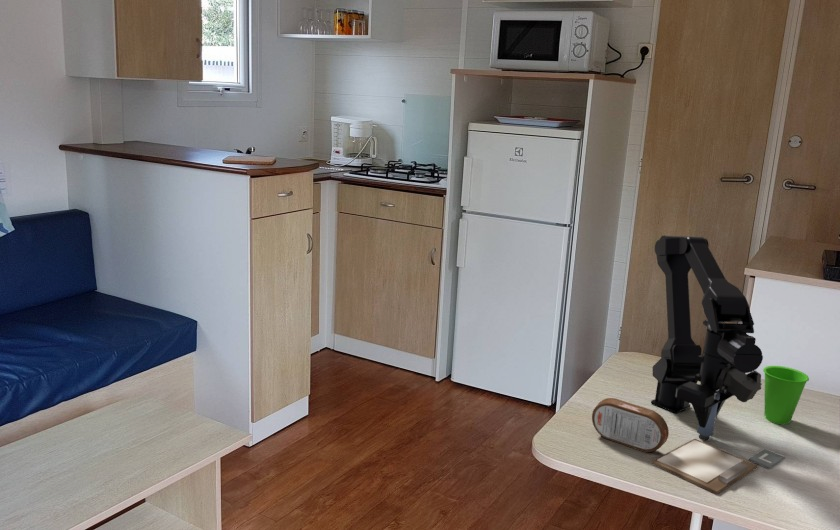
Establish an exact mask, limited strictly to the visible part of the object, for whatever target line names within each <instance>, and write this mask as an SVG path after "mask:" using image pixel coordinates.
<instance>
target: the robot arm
mask: <svg viewBox="0 0 840 530" xmlns="http://www.w3.org/2000/svg"><path fill="white" fill-rule="evenodd" d="M709 245H710V244H709V240H708V239H707V238H704V236H703V237H702V236H688V235H687V236H686V235H685V236H684V235H683V236H682V235H662V236H661V237H660V238H659V239H657V240H656V242H655V244H654V252H655V254H656V263H657V265H658V266H659V268H660V270H661V271H662V272H663V274H664V277H665V294H666V295H665V296H666V298H665V299H666V312H667V314H666V317H667V334H668V335H667V340H666V341H665V344H664V345H663V346H662V349H661V352H660V353H661V354H660V359H659V360H657V362H656V363H654V365H653V366H652V377H653V378H654V379H656V380H657V384H656V391H655V398H654V399H652V400H651V401H650V403H651V404H652V405H655V406H657V407H660V408H663V409H664V410H668V411H670V412H672V413H674V414H677V413H680V412H681V411H683V410H686V409H689V408H690V407H691V405H692V409H693V412H694V414H695V417H696V420H697V423H698V424H699V426H700V427H703V428H705V427H706V424H707V421H708V418H709V415H710V412H711V409H712V406H713V405H715V404H717V403H718V407H717V413H716V418H717V417H718V416H719V413H720V411H721V409H722V407H723V406H724V404H725V402H726V400H728V399H730V398H733V397H735V398H736V399H737V400H738V401H739V402H741V403H747V402H748V401H749V400H752V399H754V397H755V396H756V394H757V392H759V391H761V389H762V385H763V383H761V382H762V374H761V373H760V372H758V371H757V369H758V368H759V367H760V366H761V364H762V363H763V359H764V356H763V352H762V349H761V348H760V347H759V346H758V345H756V340H757V339H756V337H754V336H752V335H749V334H754V333H755V329H754V325H755V322H754V319H753V316H752V314H751V310H750V304H749V302H748V299H747V297H746V296H745V295H744V293H743V292H742V291H741V290H740V289H739V287H737V286H736V285H734V284H732V283H731V282H729V281H728V280H727V278H726V277H725V275H724V272H722V269H721V268H720V266H719V264H718V262H717V260H716V258H715V257H714V255H713V253H712V251H711V249H710V248H709V247H710V246H709ZM691 270H692V272H693V275H694V276H695V279H696V280H697V281H698V284H699V286H700V288H701V290H702V293H703V296H702V300H701V305H702V308H703V312H704V315H705V317H706V319H704V320H703V321H702V324H703V325H704V326H706V331H705V338H704V344H703V350H702V347H701V345H700V344H696V343H695V340H694V339H693V338H692V323H691V306H690V305H691V304H690V285H689V272H690V271H691ZM727 322H728V323H727ZM698 382H700V384H699V383H698ZM717 392H719V393H720V399H719V401H718V400H715V396H716V394H717Z"/></svg>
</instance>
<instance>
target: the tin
mask: <svg viewBox="0 0 840 530" xmlns="http://www.w3.org/2000/svg"><path fill="white" fill-rule="evenodd" d="M591 421H592V425H593V427H594V430H595V431H596V432H597V433H598V435H600V436H601V437H603V438H604V439H606V440H609V441H611V442H613V443H614V442H615V443H617V444H620V445H623V446H626V447H629V448H632V449H634V450H638V451H640V452H646V453H652V452H655V451H657V450H659V449H660V448H661V447H662V446H663V445H664V444H666V442H667V441H668V439H669V435H670V434H669V426H668V424H667V421H666V420H665V419H664V418H663V416H662V415H661V414H660V413H659V412H657V411H655V410H654V409H650V408H648V407H647V408H646V407H644V406H641V405H638V404H634V403H631V402H627V401H625V400H622V399H619V398H615V397H607V398H604V399H602V400H600V401H599V402H598V403H597V405H596V406H595V407H594V409H593V410H592V414H591Z"/></svg>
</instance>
